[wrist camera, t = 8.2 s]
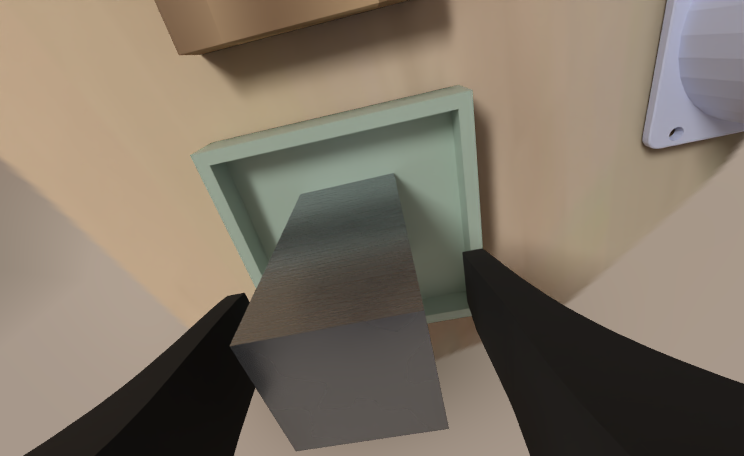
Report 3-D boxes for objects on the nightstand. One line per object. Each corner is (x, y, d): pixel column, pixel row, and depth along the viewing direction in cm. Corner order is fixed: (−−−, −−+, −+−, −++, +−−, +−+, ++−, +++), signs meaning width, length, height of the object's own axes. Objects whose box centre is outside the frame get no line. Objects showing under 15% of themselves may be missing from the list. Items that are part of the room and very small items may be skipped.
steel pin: (393, 172, 13) (424, 310, 6) (410, 253, 15) (448, 428, 8) (300, 194, 14) (229, 346, 7) (327, 269, 15) (296, 450, 8)
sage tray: (459, 84, 12) (472, 89, 11) (475, 288, 17) (486, 313, 15) (211, 143, 13) (190, 155, 12) (292, 321, 18) (285, 347, 16)
